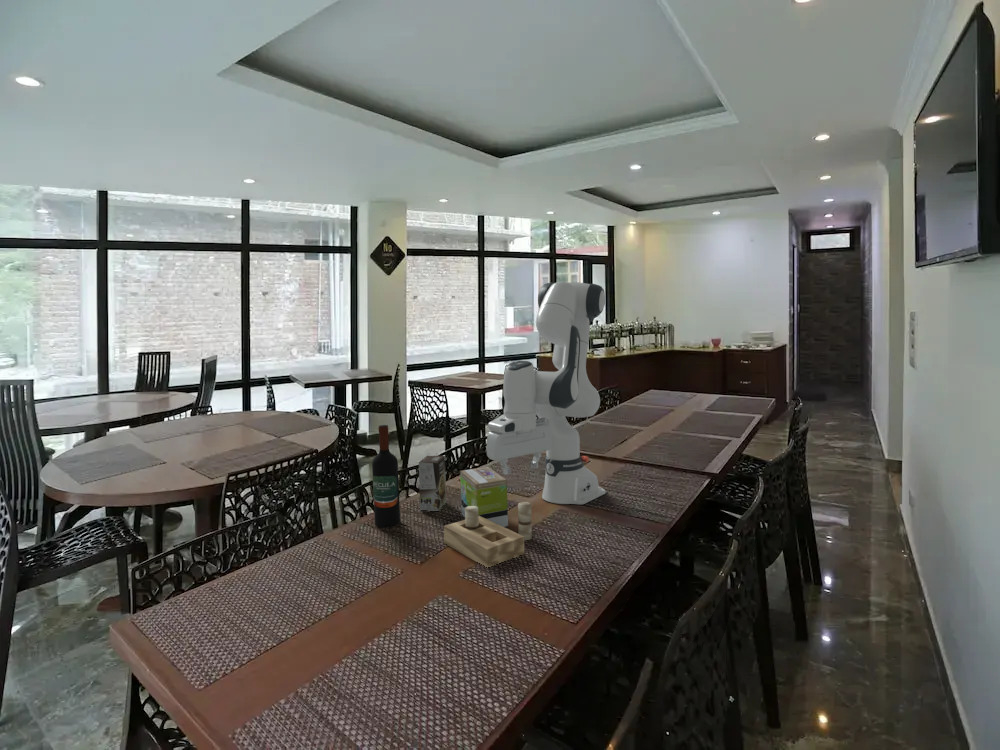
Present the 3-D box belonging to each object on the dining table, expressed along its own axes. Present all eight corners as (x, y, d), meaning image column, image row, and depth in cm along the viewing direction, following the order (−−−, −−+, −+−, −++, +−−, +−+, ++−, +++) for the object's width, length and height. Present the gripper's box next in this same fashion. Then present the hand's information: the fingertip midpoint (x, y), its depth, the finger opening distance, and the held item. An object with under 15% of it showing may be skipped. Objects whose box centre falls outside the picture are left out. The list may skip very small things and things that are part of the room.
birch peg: (525, 535, 165) (525, 501, 164) (534, 538, 163) (533, 504, 161) (516, 538, 163) (515, 503, 162) (524, 542, 160) (523, 507, 159)
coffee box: (438, 512, 185) (437, 462, 183) (419, 511, 186) (417, 462, 184) (447, 502, 194) (445, 455, 192) (428, 501, 195) (426, 454, 193)
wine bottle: (404, 519, 179) (400, 423, 175) (392, 529, 172) (388, 429, 168) (383, 517, 181) (378, 422, 178) (370, 526, 174) (365, 427, 171)
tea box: (460, 515, 182) (459, 469, 180) (490, 510, 185) (489, 465, 184) (477, 532, 168) (475, 482, 166) (509, 527, 172) (508, 478, 170)
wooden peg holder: (479, 532, 168) (478, 498, 167) (524, 554, 152) (523, 518, 151) (444, 543, 161) (443, 508, 160) (487, 568, 145) (486, 529, 144)
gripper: (542, 415, 167) (542, 462, 169) (482, 424, 155) (483, 474, 157) (556, 418, 162) (556, 466, 164) (496, 428, 150) (497, 480, 152)
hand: (520, 470), depth 160 cm, fingers open, 8 cm apart
